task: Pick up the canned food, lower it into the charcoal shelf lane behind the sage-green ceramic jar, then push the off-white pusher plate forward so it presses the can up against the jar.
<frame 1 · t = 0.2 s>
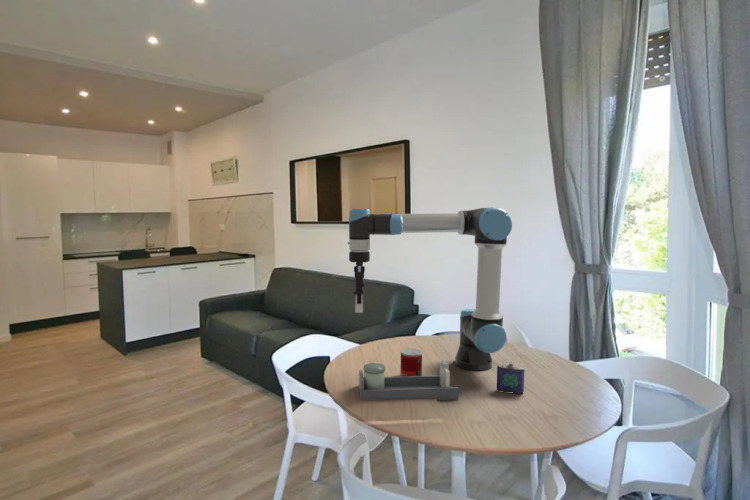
hand: (359, 308, 158), 27 cm above the table, fingers open, 13 cm apart
green jar: (374, 392, 147), point 1 cm above the table, touching lane
lane: (407, 393, 148), on the table
flask: (509, 392, 150), on the table
pusher: (444, 375, 149), point 6 cm above the table, slide at 0.0 cm
canned food: (411, 380, 160), on the table
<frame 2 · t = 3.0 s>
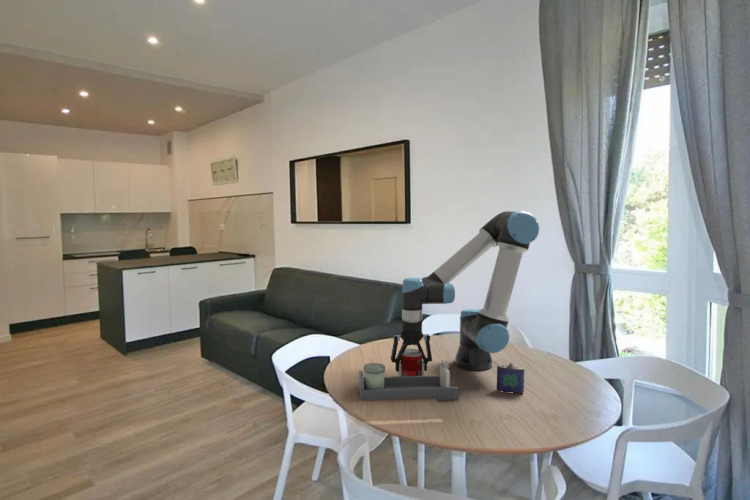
hand: (411, 379, 160), 0 cm above the table, fingers closed on canned food, 8 cm apart
canned food: (411, 380, 160), on the table, touching gripper
everything else where it was.
when the fingers open (3 cm above the table, at t = 7.4 s): canned food drops 1 cm, resting on lane.
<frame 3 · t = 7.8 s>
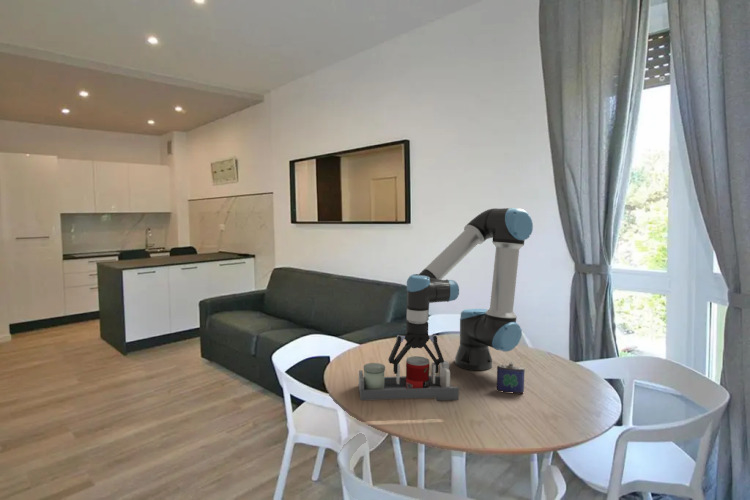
hand: (415, 382, 148), 4 cm above the table, fingers open, 12 cm apart
pusher: (444, 375, 149), point 6 cm above the table, slide at -0.1 cm, touching gripper
canned food: (417, 391, 148), point 1 cm above the table, touching lane
everything else where it was.
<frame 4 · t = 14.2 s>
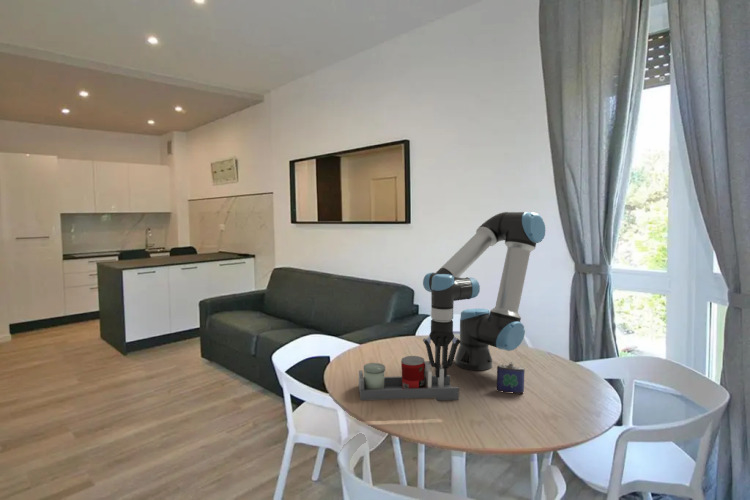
hand: (440, 385, 149), 3 cm above the table, fingers closed
pusher: (427, 376, 148), point 6 cm above the table, slide at 6.2 cm, touching canned food, hand
canned food: (414, 390, 148), point 1 cm above the table, touching pusher
everything else where it was.
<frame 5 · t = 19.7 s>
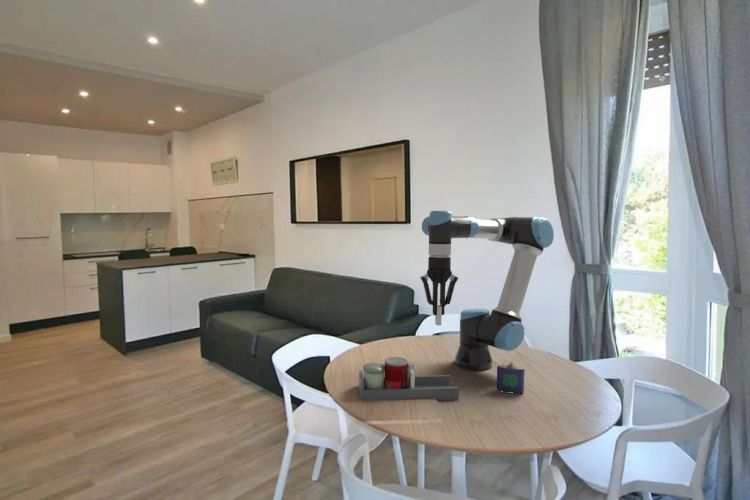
hand: (438, 324, 147), 24 cm above the table, fingers closed
green jar: (373, 392, 147), point 1 cm above the table, touching canned food, lane
pusher: (410, 376, 148), point 6 cm above the table, slide at 12.0 cm
canned food: (395, 392, 148), point 1 cm above the table, touching green jar, lane
everything else where it was.
at the end: canned food inside the target area (1.0 cm from its centre), point 0.8 cm above the table; canned food tilted 0°; pusher slide at 12.0 cm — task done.
